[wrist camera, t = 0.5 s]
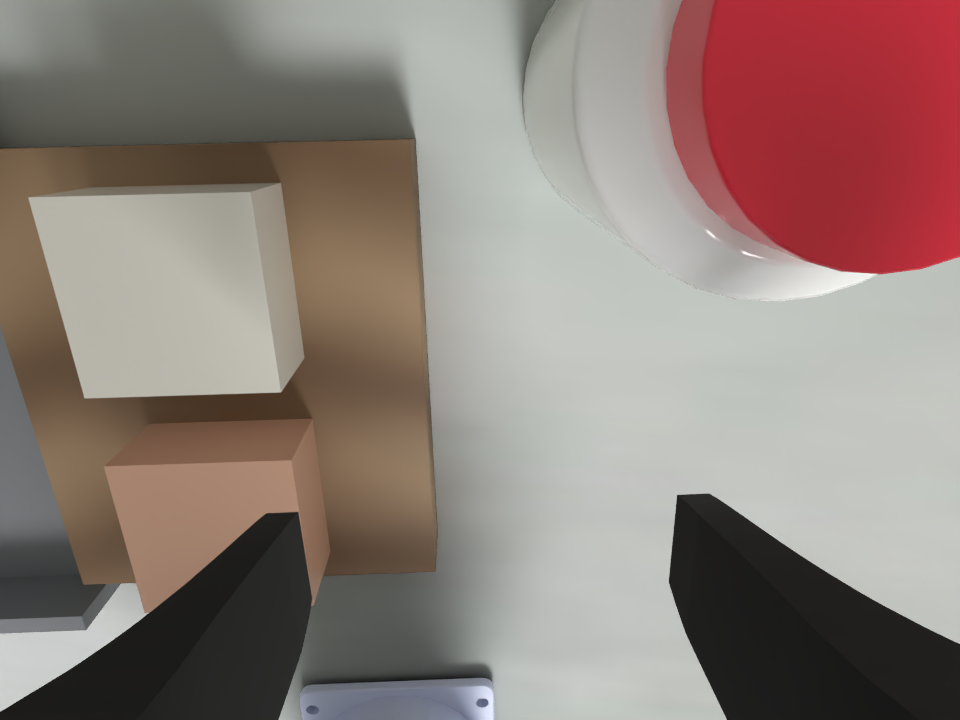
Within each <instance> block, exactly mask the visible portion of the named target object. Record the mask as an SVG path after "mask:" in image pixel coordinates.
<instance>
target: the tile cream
mask: <svg viewBox="0 0 960 720" xmlns="http://www.w3.org/2000/svg"><path fill="white" fill-rule="evenodd" d="M28 199H29V202H30V206H31V209H32V213H33V217H34V220H35V224H36V227H37V231H38V234H39V238H40V241H41V245H42V249H43V252H44V256H45V259H46V263H47V266H48V270H49V273H50V277H51V281H52V284H53V288H54V291H55V295H56V298H57V302H58V306H59V309H60V313H61V316H62V320H63V323H64V327H65V330H66V334H67V338H68V341H69V345H70V348H71V352H72V355H73V359H74V362H75V366H76V370H77V373H78V377H79V380H80V384H81V387H82V391H83V394H84V398H117V397H150V396H182V395H214V394H246V393H278V392H282V390H283V389H284V387H285V386H286V384H287V383H288V382H289V380H290V379H291V377H292V376H293V374H294V373H295V371H296V370H297V368H298V367H299V365H300V364H301V362H302V361H303V359H304V350H303V343H302V335H301V328H300V320H299V313H298V306H297V298H296V291H295V283H294V276H293V268H292V261H291V253H290V246H289V238H288V231H287V224H286V216H285V209H284V201H283V194H282V186H281V183H249V184H207V185H166V186H125V187H90V188H84V189H78V190H71V191H65V192H59V193H53V194H46V195H40V196H34V197H28Z"/></svg>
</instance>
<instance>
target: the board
mask: <svg viewBox="0 0 960 720" xmlns="http://www.w3.org/2000/svg"><path fill="white" fill-rule="evenodd" d="M249 183H281V186H282V194H283V201H284V209H285V216H286V224H287V231H288V238H289V246H290V253H291V261H292V268H293V276H294V283H295V291H296V298H297V306H298V313H299V320H300V328H301V335H302V343H303V350H304V359H303V361H302V362H301V364H300V365H299V367H298V368H297V370H296V371H295V373H294V374H293V376H292V377H291V379H290V380H289V382H288V383H287V384H286V386H285V387H284V389H283V390H282V392H278V393H246V394H214V395H182V396H150V397H117V398H84V394H83V391H82V387H81V384H80V380H79V377H78V373H77V370H76V366H75V362H74V359H73V355H72V352H71V348H70V345H69V341H68V338H67V334H66V330H65V327H64V323H63V320H62V316H61V313H60V309H59V306H58V302H57V298H56V295H55V291H54V288H53V284H52V281H51V277H50V273H49V270H48V266H47V263H46V259H45V256H44V252H43V249H42V245H41V241H40V238H39V234H38V231H37V227H36V224H35V220H34V217H33V213H32V209H31V206H30V202H29V199H28V197H34V196H40V195H46V194H53V193H59V192H65V191H71V190H78V189H84V188H90V187H125V186H166V185H207V184H249ZM0 326H1V330H2V333H3V336H4V339H5V342H6V345H7V348H8V351H9V354H10V358H11V361H12V364H13V367H14V370H15V373H16V376H17V379H18V383H19V386H20V389H21V392H22V395H23V398H24V401H25V404H26V407H27V411H28V414H29V417H30V420H31V423H32V426H33V429H34V432H35V436H36V439H37V442H38V445H39V448H40V451H41V454H42V457H43V460H44V464H45V467H46V470H47V473H48V476H49V479H50V482H51V485H52V489H53V492H54V495H55V498H56V501H57V504H58V507H59V510H60V513H61V517H62V520H63V523H64V526H65V529H66V532H67V535H68V538H69V542H70V545H71V548H72V551H73V554H74V557H75V560H76V563H77V566H78V570H79V573H80V576H81V579H82V582H83V585H89V584H116V583H136V580H135V576H134V572H133V569H132V565H131V562H130V558H129V555H128V551H127V548H126V544H125V540H124V537H123V533H122V530H121V526H120V523H119V519H118V515H117V512H116V508H115V505H114V501H113V498H112V494H111V491H110V487H109V483H108V480H107V476H106V473H105V469H104V466H105V465H106V464H107V463H108V462H109V461H110V460H111V459H112V458H113V457H114V456H115V455H116V454H117V453H118V452H120V451H121V450H122V449H123V448H124V447H125V446H126V445H127V444H128V443H129V442H130V441H131V440H132V439H133V438H134V437H135V436H136V435H137V434H139V433H140V432H141V431H142V430H143V429H144V428H145V427H146V426H147V425H148V424H160V423H191V422H223V421H254V420H285V419H313V425H314V432H315V440H316V447H317V455H318V462H319V470H320V477H321V485H322V492H323V500H324V507H325V514H326V522H327V529H328V537H329V544H330V555H329V558H328V561H327V565H326V568H325V571H324V574H323V576H332V575H359V574H386V573H413V572H436V555H437V538H438V532H437V514H436V496H435V478H434V460H433V443H432V425H431V407H430V389H429V371H428V353H427V335H426V317H425V299H424V281H423V263H422V245H421V227H420V209H419V191H418V173H417V155H416V139H374V140H331V141H287V142H243V143H200V144H156V145H112V146H69V147H25V148H0Z"/></svg>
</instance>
